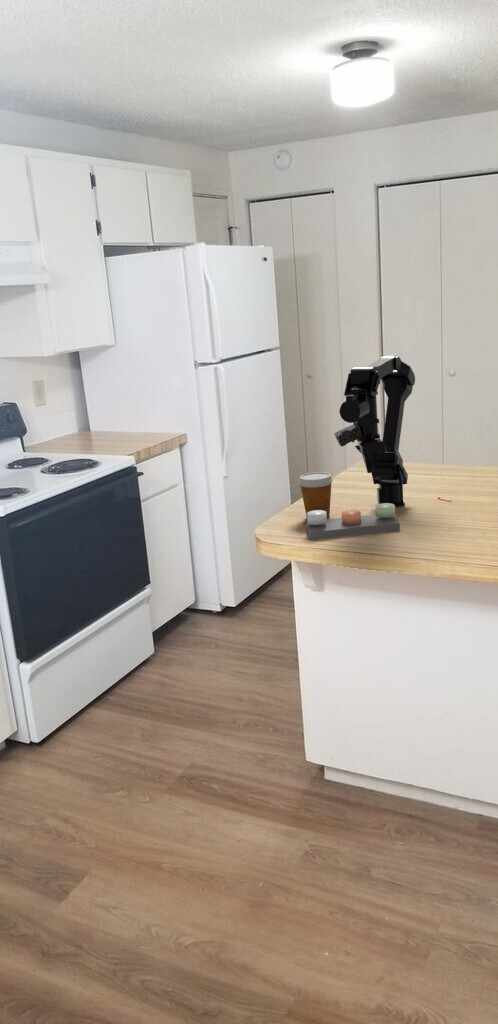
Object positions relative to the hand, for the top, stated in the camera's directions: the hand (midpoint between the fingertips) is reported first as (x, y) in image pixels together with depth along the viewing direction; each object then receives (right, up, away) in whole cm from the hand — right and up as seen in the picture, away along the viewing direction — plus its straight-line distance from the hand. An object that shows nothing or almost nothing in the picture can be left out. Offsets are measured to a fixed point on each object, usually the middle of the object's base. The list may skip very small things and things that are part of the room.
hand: (369, 472), depth 221 cm
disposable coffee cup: (-13, -12, +9) cm, 20 cm away
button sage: (+3, -11, -5) cm, 13 cm away
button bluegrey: (-14, -13, -5) cm, 20 cm away
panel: (-5, -15, -4) cm, 17 cm away
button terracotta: (-5, -13, -5) cm, 15 cm away
